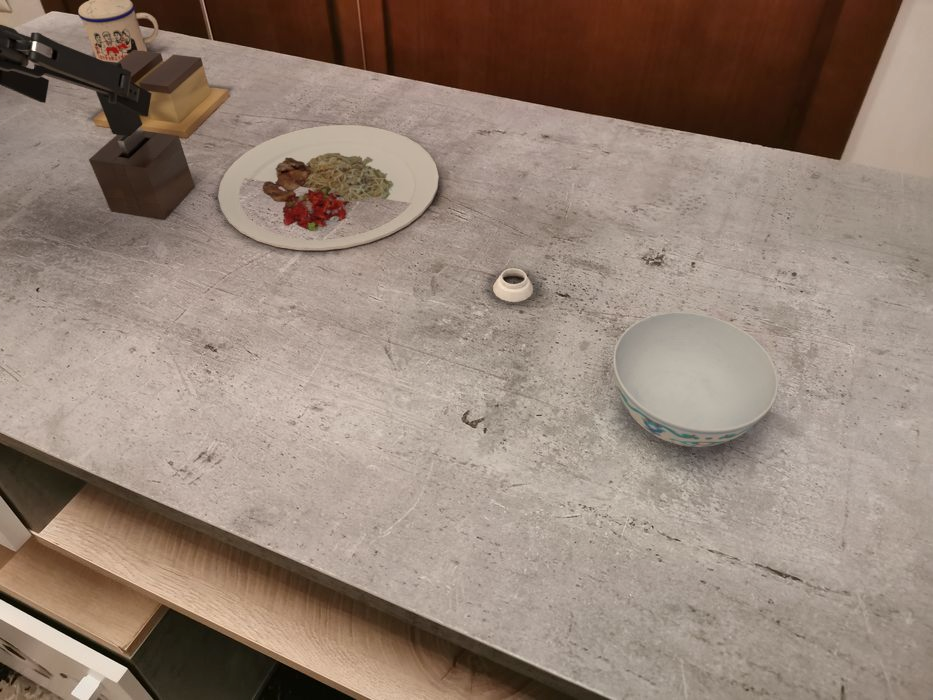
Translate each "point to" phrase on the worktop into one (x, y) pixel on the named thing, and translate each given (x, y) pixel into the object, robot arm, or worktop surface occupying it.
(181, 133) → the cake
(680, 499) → the worktop surface
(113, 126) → the cake knife
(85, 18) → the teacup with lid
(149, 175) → the knife block
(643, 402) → the chinaware
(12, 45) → the robot arm
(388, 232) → the plated food
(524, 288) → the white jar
